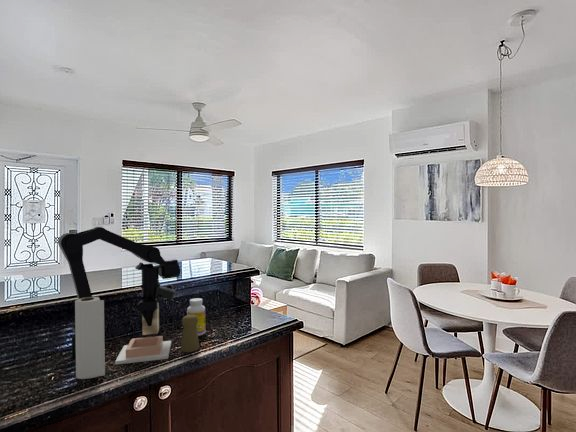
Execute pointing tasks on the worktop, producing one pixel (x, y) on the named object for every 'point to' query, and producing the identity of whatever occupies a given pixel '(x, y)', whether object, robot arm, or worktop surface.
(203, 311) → the supplement bottle
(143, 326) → the maple block
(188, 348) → the olive pepper mill
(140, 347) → the pocket plate
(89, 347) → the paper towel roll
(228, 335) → the worktop surface
